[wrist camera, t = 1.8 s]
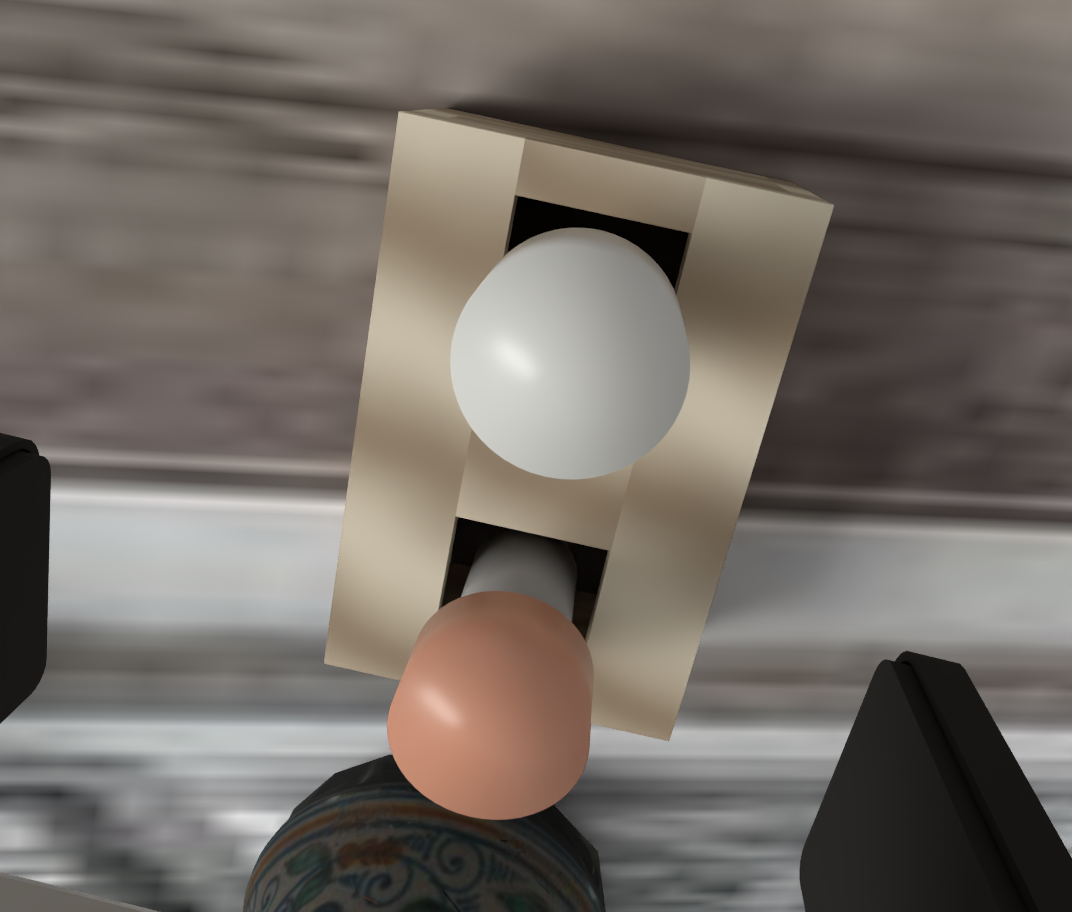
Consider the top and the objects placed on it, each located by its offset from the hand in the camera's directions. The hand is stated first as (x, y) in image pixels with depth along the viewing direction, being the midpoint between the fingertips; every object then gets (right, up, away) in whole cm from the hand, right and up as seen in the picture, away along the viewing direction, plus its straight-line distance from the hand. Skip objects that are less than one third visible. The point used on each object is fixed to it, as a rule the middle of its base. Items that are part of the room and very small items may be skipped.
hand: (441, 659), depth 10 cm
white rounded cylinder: (+3, +7, +18) cm, 20 cm away
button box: (+2, +5, +25) cm, 25 cm away
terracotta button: (+1, -2, +22) cm, 22 cm away
